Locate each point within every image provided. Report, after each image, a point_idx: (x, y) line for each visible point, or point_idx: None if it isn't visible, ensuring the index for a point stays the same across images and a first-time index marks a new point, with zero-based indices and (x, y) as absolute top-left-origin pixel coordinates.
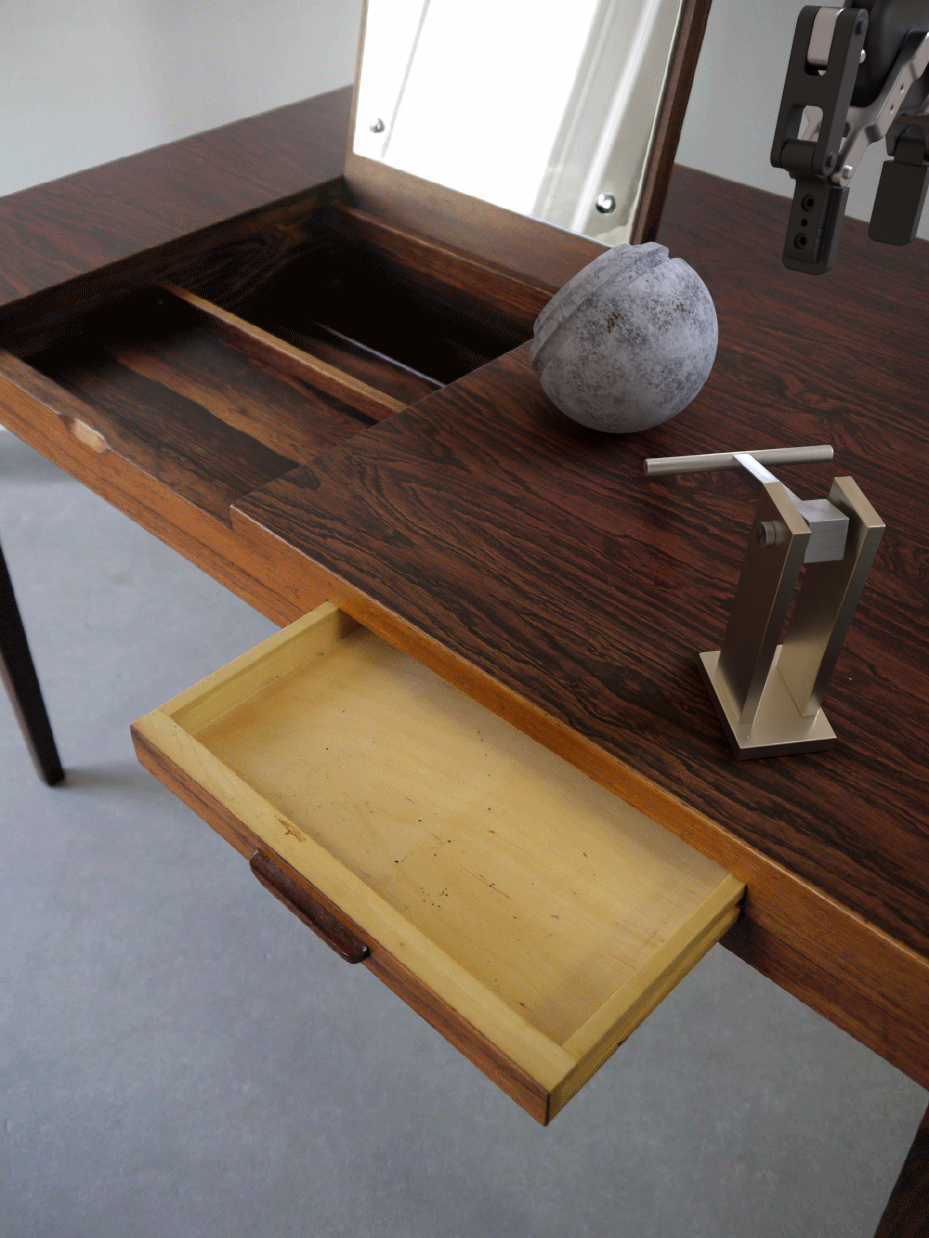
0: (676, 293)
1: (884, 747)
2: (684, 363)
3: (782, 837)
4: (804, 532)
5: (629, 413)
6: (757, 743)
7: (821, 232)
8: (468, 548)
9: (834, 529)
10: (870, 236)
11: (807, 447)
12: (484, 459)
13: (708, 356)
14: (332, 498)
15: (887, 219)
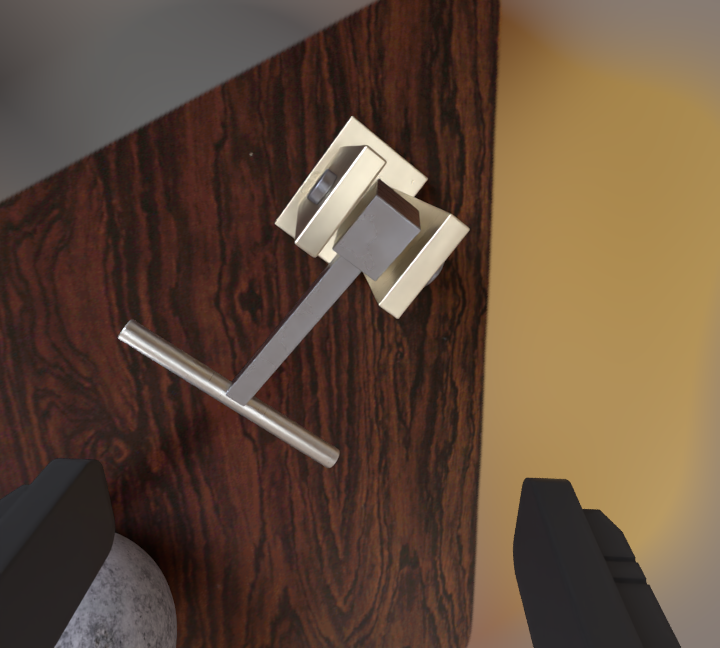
0: None
1: (309, 78)
2: None
3: (471, 96)
4: (457, 220)
5: (136, 553)
6: (412, 170)
7: (614, 571)
8: (372, 513)
9: (392, 202)
10: (111, 537)
11: (150, 352)
12: (258, 594)
13: None
14: (407, 629)
15: (81, 549)
